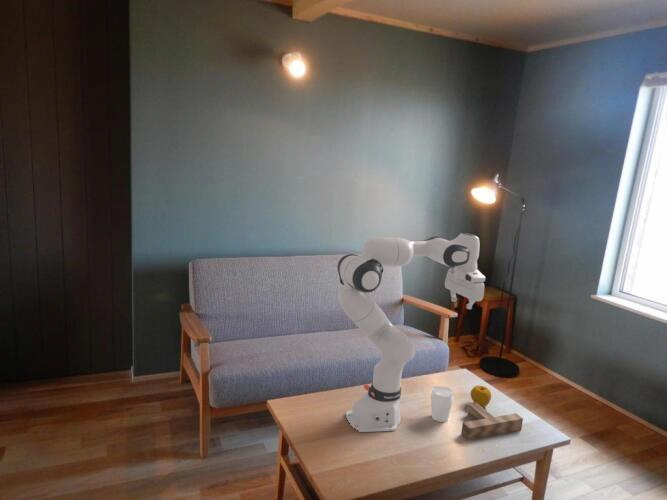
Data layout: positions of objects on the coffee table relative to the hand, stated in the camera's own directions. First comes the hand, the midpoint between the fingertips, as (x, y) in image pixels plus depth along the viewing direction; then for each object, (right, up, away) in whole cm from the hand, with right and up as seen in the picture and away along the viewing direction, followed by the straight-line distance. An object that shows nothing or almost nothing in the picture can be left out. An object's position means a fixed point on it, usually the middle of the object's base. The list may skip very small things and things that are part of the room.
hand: (461, 305), depth 189 cm
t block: (+8, -49, -2) cm, 49 cm away
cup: (-9, -47, +1) cm, 48 cm away
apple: (+11, -46, +12) cm, 49 cm away
